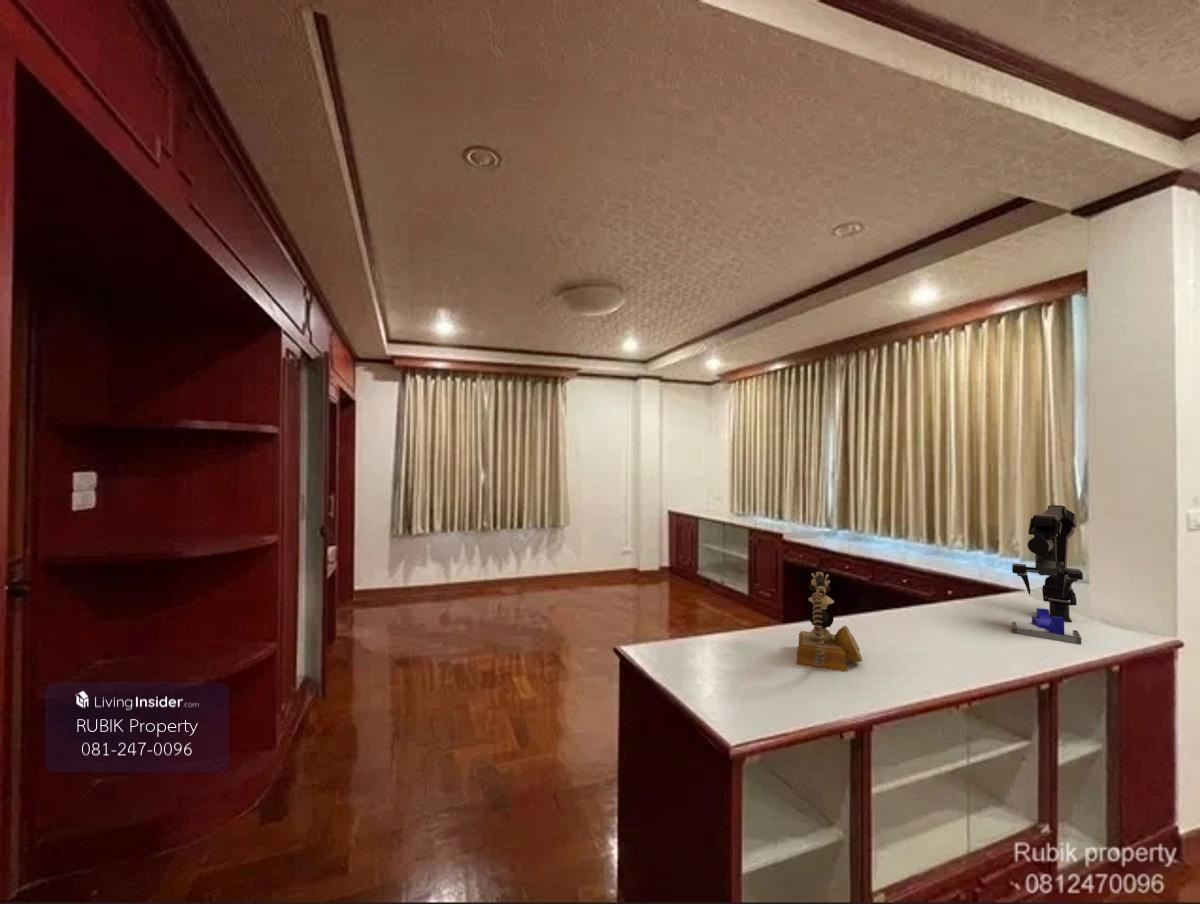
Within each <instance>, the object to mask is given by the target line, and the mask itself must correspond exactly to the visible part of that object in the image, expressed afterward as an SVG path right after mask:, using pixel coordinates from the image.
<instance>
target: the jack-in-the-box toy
mask: <svg viewBox="0 0 1200 904" xmlns="http://www.w3.org/2000/svg"><path fill="white" fill-rule="evenodd" d="M810 575H811V576H812V579H811V582H810V584H809V585H808V588H809V590H810V591H812V592H813V593H812V594H811V596H810V597H809V598H808V599H807V600H808V601H809V602H811V603H812V606H813V607H812V609H810V611H809V614H808V615H809V616H808V618H809V622H810V623H811V624H812V626H813V629H811V631H806V630H805V631H803V630H801V631H800V632H799V633H798V646H797V652H796V653H797V654H796V665H798V666H803V665H804V666H805V667H810V666H811V668H817V669H824V668H825V670H830V669H831V670H832V671H837V670H841V671H840V672H844V671H848V672H849V670H848V669H849V668H848V666H847V661H849V662H854V663H858V662H863V657H862V655H861V653H860V650H861V649H860V646H859V645H858V643H857V640H856V639H855V636H854V635H853V634H852V633H851V631H850V629H849V627H848V626H847V625H844V626H842V627H840V628H839V629H838V630H837V632H836V633H835V634H832V633H831V631H829V630H828V629H827V628H830V627H831V626H832V625H833V623H834V616H835V615H834V614H833V611H832V610H831V609H830V608H829V607H828V606H829V605H832V604H834V603H835V601H834V599H832V598H831V597H829V596H828V595H826V593H828V592H829V591H830V590H831V587H830V585H829V584H830V583H831V581H830V579H828V577H830V575H829V574H828V573H827V574H825V576H824V572H821V571H815V574H814V573H813V572H812V573H811V574H810Z"/></svg>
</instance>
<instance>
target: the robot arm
mask: <svg viewBox="0 0 1200 904" xmlns="http://www.w3.org/2000/svg"><path fill="white" fill-rule="evenodd" d="M1077 526H1078V520H1077V517H1076V514H1075V513H1074V512H1072V511H1070V510H1069V509H1067V506H1064V505H1059V504H1058V505H1057V504H1050V505H1048V506H1047V509H1046V510H1045V511H1044V512H1043V513H1038V514H1037V513H1036V514H1034V515H1033V516H1032V517H1031V518H1030V523H1029V526H1028V527H1029V528H1028V531H1027V532H1028V533H1027V534H1028V535H1032V536H1033V537H1032V538H1031V539H1029V540H1028V543H1027V548H1028V550H1029V551H1030V552H1031V553H1033V554H1035V557H1034V558H1035V559H1034V561H1035V563H1034V564H1035V566H1034V567H1032V566H1027V564H1026V563H1025V564H1024V563H1012V565H1011V572H1012V574H1016V575H1017V576H1018V577H1021V579H1022V582H1023V583H1024V585H1025V587H1026V590H1027V592H1028V595H1031V586H1030V582H1029V576H1028V573H1033V574H1038V575H1039V576H1042V577H1043V576H1046V577H1045V578H1044V579H1045V580H1044V584H1043V585H1042V587H1041V588H1042V598H1043V599H1042V600H1043V602H1048V606H1049V608H1048V610H1049V616H1050V619H1051V616H1054V617H1063V618H1064V623H1065V622H1067V623H1072V622H1073V620H1072V618H1071V617H1070V606H1077V596H1076V593H1075V591H1074V588H1072V584H1073V583H1076V582H1077V583H1078V580H1081V581H1084V580H1083V579H1084V576H1083V575H1084V574H1083V572H1082V571H1081V569H1079V568H1069V567H1068V554H1069V553H1068V552H1069V551H1068V550H1069V539H1070V538H1071V537H1072V536H1073V535H1074V534H1075V530H1076V528H1078V527H1077Z"/></svg>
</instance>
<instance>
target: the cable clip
mask: <svg viewBox="0 0 1200 904" xmlns="http://www.w3.org/2000/svg"><path fill="white" fill-rule="evenodd" d="M1031 624H1034V625H1035V626H1037V627H1038V628H1040V629H1045V630H1047V632H1050V633H1057V634H1065V621H1064V618H1063V617H1054V616H1051V619H1050V616H1049V608H1048V609H1047V608H1038V607H1037V608H1036V616H1033V615H1032V616H1031Z"/></svg>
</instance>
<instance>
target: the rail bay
mask: <svg viewBox="0 0 1200 904" xmlns="http://www.w3.org/2000/svg"><path fill="white" fill-rule="evenodd" d="M1011 629H1012V633H1013V634H1016V635H1023V636H1027V637H1028V636H1029V637H1034V638H1039V639H1040V638H1041V639H1046V640H1052V641H1059V642H1064V643H1068V644H1074V645H1076V644H1077V645H1082V637H1081V634H1080V633H1079V631H1078V630H1076V629H1075V630H1074V629H1072V634H1071V635H1069V634H1065V633H1064V634H1057V633H1053V632H1050V631H1041V630H1037V629H1029V628H1022V627H1018V625H1017V622H1016V621H1011Z"/></svg>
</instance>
